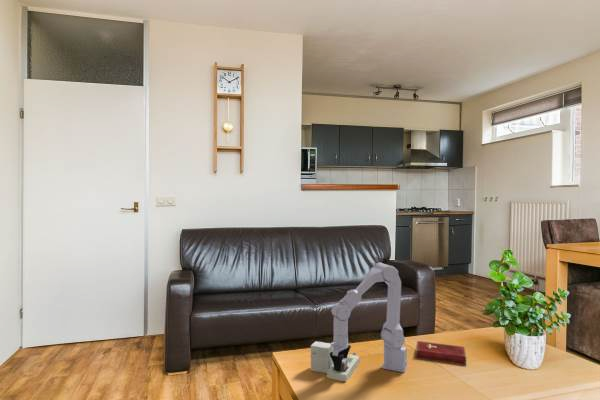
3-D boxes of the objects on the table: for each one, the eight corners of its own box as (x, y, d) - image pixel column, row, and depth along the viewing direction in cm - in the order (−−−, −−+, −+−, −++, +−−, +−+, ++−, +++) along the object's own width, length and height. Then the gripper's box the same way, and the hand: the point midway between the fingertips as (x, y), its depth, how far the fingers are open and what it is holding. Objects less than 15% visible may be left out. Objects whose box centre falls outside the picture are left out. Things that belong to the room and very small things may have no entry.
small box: (333, 368, 160) (333, 343, 160) (328, 374, 155) (328, 348, 155) (315, 365, 164) (315, 340, 164) (310, 370, 159) (310, 345, 159)
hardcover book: (466, 365, 164) (466, 356, 164) (415, 358, 172) (415, 349, 172) (464, 355, 176) (464, 346, 176) (417, 348, 183) (417, 340, 183)
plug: (347, 372, 156) (347, 357, 156) (344, 377, 152) (344, 361, 152) (338, 371, 158) (338, 356, 158) (334, 375, 154) (335, 360, 154)
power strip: (363, 356, 173) (363, 350, 173) (346, 381, 149) (346, 374, 149) (346, 353, 176) (346, 347, 176) (327, 377, 152) (327, 371, 152)
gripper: (336, 326, 163) (336, 358, 163) (325, 338, 150) (325, 372, 150) (352, 329, 160) (352, 361, 160) (342, 340, 147) (342, 375, 147)
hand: (340, 367), depth 155 cm, fingers open, 7 cm apart
